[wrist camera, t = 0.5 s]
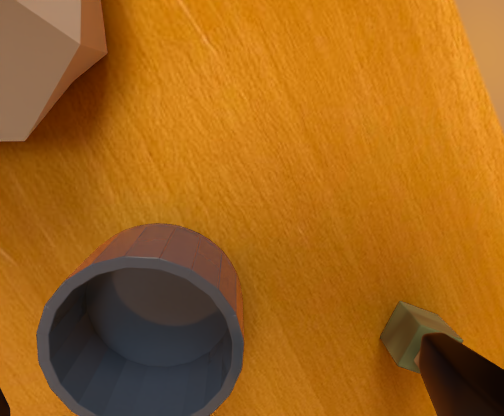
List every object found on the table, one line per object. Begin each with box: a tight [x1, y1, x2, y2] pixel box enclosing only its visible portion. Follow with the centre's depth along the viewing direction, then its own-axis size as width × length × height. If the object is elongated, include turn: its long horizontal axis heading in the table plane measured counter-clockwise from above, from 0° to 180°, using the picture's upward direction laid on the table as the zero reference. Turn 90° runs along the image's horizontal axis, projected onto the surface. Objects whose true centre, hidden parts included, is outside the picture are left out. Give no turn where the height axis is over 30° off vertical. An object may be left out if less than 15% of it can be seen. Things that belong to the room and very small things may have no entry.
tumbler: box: [36, 223, 244, 416], centre depth 22 cm, size 10×10×6 cm
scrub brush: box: [380, 301, 463, 374], centre depth 21 cm, size 3×3×10 cm
